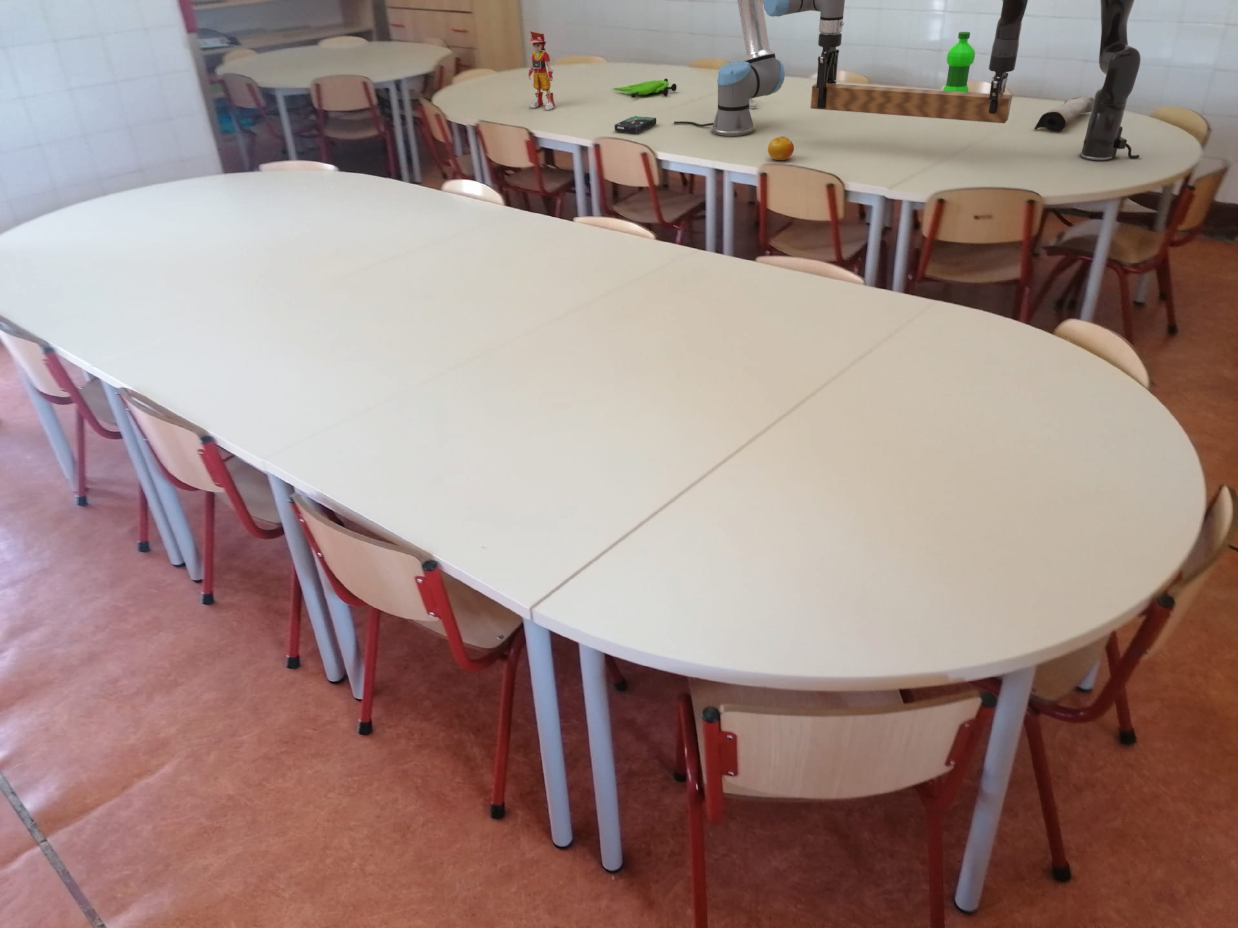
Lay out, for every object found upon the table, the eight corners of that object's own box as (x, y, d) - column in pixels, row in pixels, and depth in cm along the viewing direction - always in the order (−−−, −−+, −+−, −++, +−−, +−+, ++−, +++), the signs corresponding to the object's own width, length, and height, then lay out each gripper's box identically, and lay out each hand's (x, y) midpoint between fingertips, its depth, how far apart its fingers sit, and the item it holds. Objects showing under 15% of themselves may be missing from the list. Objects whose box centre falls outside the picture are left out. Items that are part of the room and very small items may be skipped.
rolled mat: (1062, 101, 334) (1086, 84, 326) (1075, 122, 335) (1100, 105, 327) (1030, 123, 317) (1055, 105, 309) (1044, 145, 318) (1070, 128, 309)
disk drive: (637, 135, 339) (656, 124, 349) (637, 127, 338) (656, 117, 348) (614, 132, 344) (634, 122, 354) (613, 125, 343) (633, 115, 353)
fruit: (761, 151, 301) (775, 129, 298) (766, 153, 309) (779, 132, 306) (781, 165, 300) (795, 143, 297) (786, 167, 307) (800, 146, 304)
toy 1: (525, 109, 381) (517, 32, 364) (534, 104, 388) (527, 28, 371) (550, 110, 377) (543, 32, 360) (559, 105, 384) (553, 28, 367)
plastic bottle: (973, 101, 354) (984, 32, 339) (955, 106, 349) (966, 36, 335) (952, 97, 361) (962, 29, 346) (934, 102, 356) (944, 33, 342)
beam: (810, 108, 312) (812, 86, 308) (815, 105, 316) (817, 82, 311) (1004, 123, 284) (1009, 99, 280) (1007, 119, 287) (1012, 95, 283)
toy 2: (686, 85, 398) (631, 84, 414) (685, 72, 395) (629, 72, 411) (651, 104, 381) (596, 103, 397) (650, 92, 378) (594, 91, 394)
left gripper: (831, 38, 290) (825, 113, 304) (850, 28, 303) (844, 100, 316) (809, 37, 294) (804, 111, 307) (829, 27, 306) (823, 99, 320)
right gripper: (1012, 59, 269) (1001, 117, 279) (1021, 49, 279) (1010, 106, 289) (986, 58, 273) (976, 116, 282) (996, 48, 283) (986, 105, 292)
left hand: (824, 105), depth 312 cm, fingers closed on beam, 5 cm apart
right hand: (994, 111), depth 286 cm, fingers closed on beam, 5 cm apart
